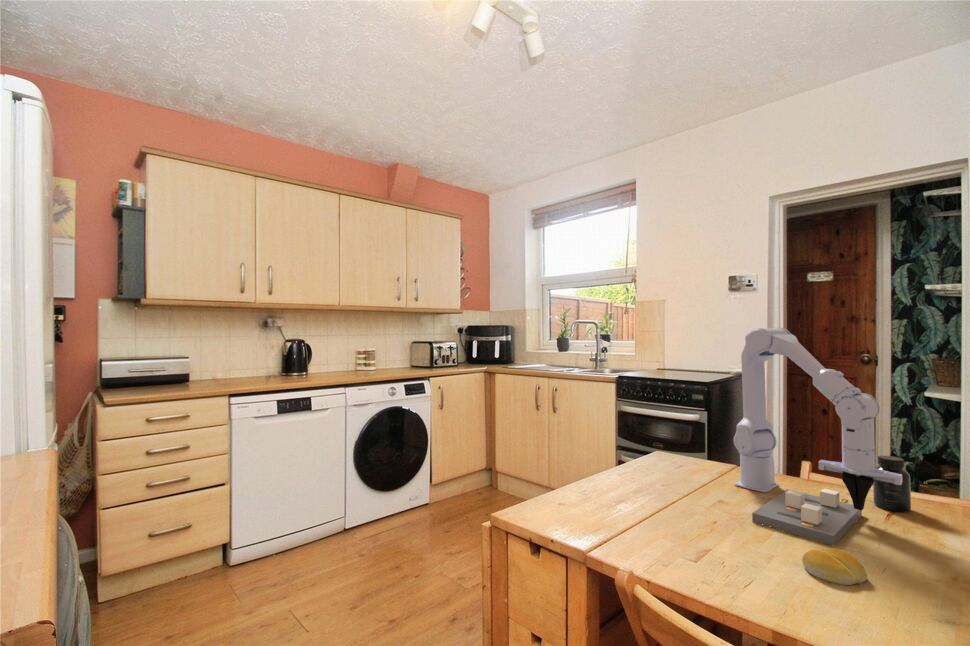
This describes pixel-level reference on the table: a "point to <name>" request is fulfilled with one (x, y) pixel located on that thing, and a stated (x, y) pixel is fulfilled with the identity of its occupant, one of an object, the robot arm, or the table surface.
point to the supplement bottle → (892, 486)
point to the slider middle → (794, 499)
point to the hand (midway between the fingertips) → (858, 508)
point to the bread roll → (835, 566)
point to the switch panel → (790, 521)
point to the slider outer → (811, 514)
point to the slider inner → (829, 498)
